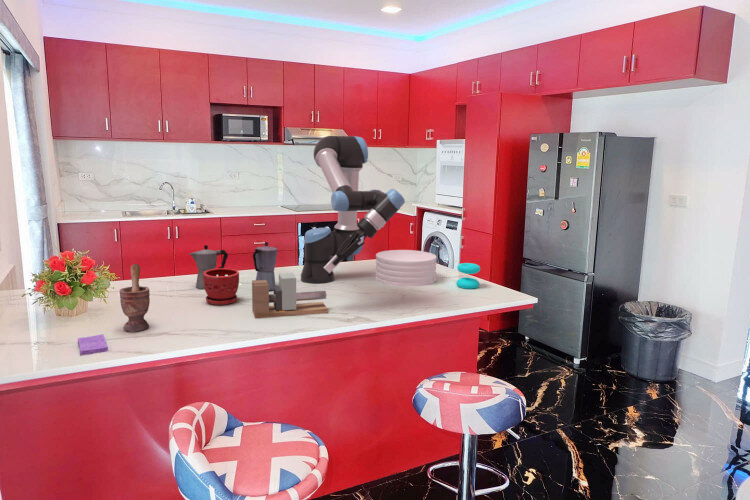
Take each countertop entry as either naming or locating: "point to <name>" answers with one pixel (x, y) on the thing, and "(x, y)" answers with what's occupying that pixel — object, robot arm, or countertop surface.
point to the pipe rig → (263, 310)
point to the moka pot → (265, 264)
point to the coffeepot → (207, 262)
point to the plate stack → (405, 268)
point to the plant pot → (221, 285)
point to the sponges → (92, 344)
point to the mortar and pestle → (135, 302)
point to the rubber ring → (278, 298)
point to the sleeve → (288, 290)
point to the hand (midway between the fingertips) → (326, 270)
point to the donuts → (467, 282)
